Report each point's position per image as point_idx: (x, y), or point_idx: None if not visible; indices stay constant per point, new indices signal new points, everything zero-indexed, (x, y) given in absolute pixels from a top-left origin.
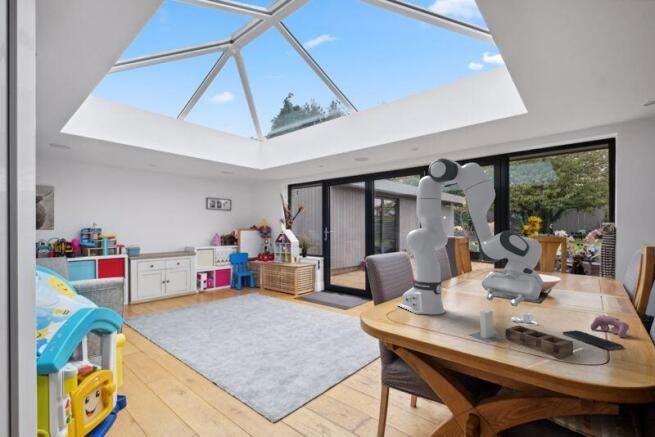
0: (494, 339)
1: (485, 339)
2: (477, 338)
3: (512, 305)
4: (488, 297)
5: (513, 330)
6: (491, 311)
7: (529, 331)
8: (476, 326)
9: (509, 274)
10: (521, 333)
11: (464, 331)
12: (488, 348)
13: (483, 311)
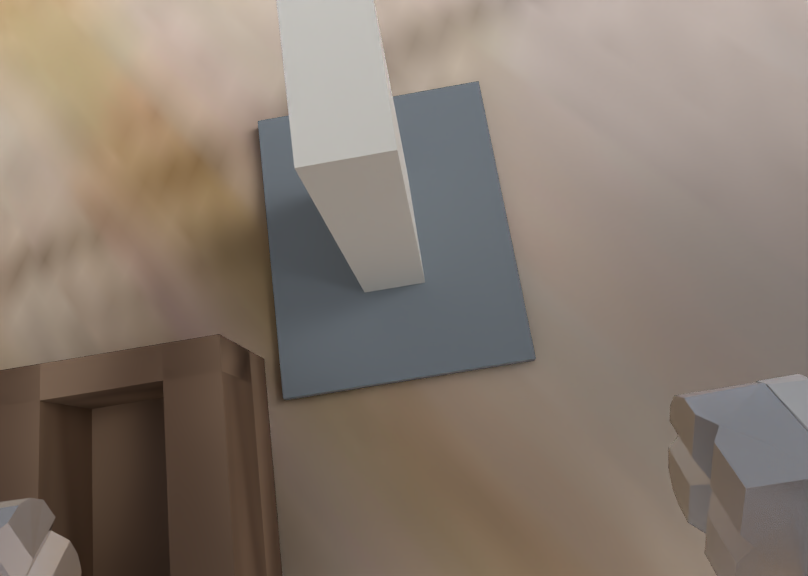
0: (293, 236)
1: None
2: None
3: (59, 549)
4: (735, 388)
5: (136, 376)
6: (292, 139)
7: None
8: None
9: None
10: (28, 376)
11: (604, 143)
12: (191, 66)
13: (339, 16)
